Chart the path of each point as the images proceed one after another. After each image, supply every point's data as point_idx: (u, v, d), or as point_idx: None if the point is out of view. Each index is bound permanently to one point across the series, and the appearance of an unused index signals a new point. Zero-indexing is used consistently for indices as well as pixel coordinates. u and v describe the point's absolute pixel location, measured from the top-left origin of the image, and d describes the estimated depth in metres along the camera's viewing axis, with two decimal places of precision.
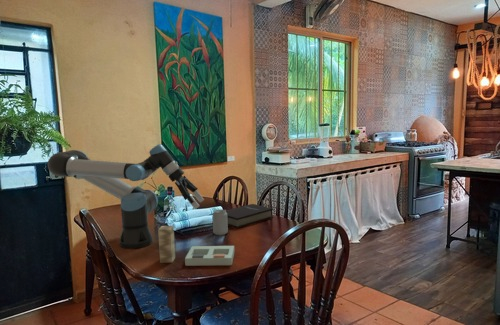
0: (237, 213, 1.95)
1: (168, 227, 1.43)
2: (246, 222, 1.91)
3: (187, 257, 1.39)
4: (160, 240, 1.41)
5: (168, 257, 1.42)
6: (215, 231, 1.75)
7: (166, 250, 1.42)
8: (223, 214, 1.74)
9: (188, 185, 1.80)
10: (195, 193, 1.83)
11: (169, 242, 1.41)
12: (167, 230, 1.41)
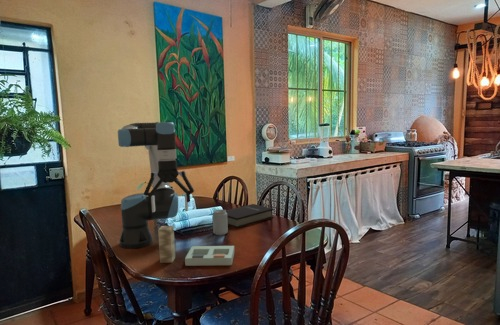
0: (237, 213, 1.95)
1: (168, 227, 1.43)
2: (246, 222, 1.91)
3: (187, 257, 1.39)
4: (160, 240, 1.41)
5: (168, 257, 1.42)
6: (215, 231, 1.75)
7: (166, 250, 1.42)
8: (223, 214, 1.74)
9: None
10: (185, 197, 1.44)
11: (169, 242, 1.41)
12: (167, 230, 1.41)
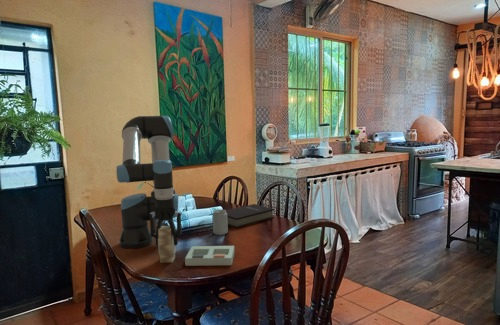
0: (237, 213, 1.95)
1: (168, 227, 1.43)
2: (246, 222, 1.91)
3: (187, 257, 1.39)
4: (160, 240, 1.41)
5: (168, 257, 1.42)
6: (215, 231, 1.75)
7: (166, 250, 1.42)
8: (223, 214, 1.74)
9: None
10: None
11: (169, 242, 1.41)
12: (167, 230, 1.41)
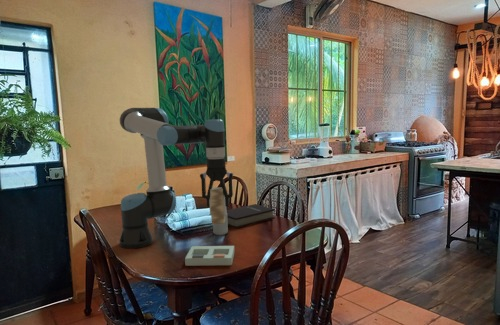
0: (237, 213, 1.95)
1: (219, 188, 1.41)
2: (245, 222, 1.91)
3: (187, 257, 1.39)
4: (212, 201, 1.39)
5: (220, 218, 1.40)
6: (215, 231, 1.75)
7: (218, 211, 1.40)
8: None
9: (221, 184, 1.40)
10: None
11: (221, 203, 1.39)
12: (219, 190, 1.39)
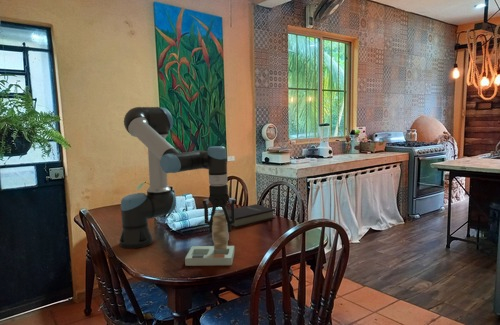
0: (237, 213, 1.95)
1: (222, 214, 1.43)
2: (245, 222, 1.91)
3: (187, 257, 1.39)
4: (214, 227, 1.41)
5: (222, 244, 1.41)
6: None
7: (220, 237, 1.41)
8: None
9: (223, 210, 1.42)
10: None
11: (223, 229, 1.41)
12: (221, 216, 1.40)
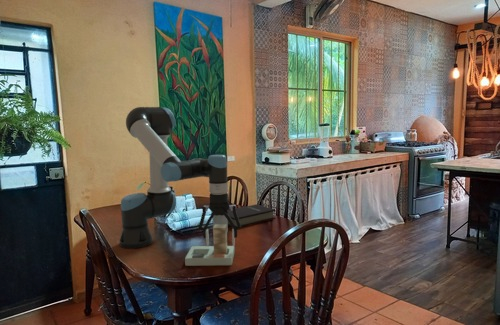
0: (237, 213, 1.95)
1: (222, 226, 1.43)
2: (245, 222, 1.90)
3: (187, 257, 1.39)
4: (215, 238, 1.41)
5: None
6: None
7: (220, 249, 1.42)
8: None
9: None
10: (232, 232, 1.43)
11: (224, 241, 1.41)
12: (222, 228, 1.41)
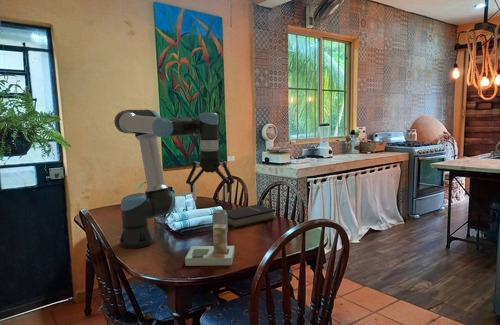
0: (237, 213, 1.95)
1: (222, 226, 1.43)
2: (245, 222, 1.90)
3: (187, 257, 1.39)
4: (215, 239, 1.41)
5: None
6: None
7: (220, 249, 1.42)
8: (223, 214, 1.74)
9: None
10: None
11: (224, 241, 1.41)
12: (222, 228, 1.41)
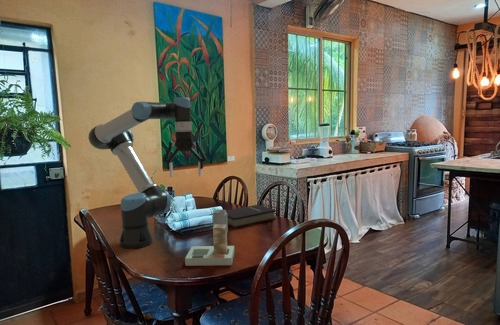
0: (237, 213, 1.95)
1: (222, 226, 1.43)
2: (245, 223, 1.90)
3: (187, 257, 1.39)
4: (215, 239, 1.41)
5: None
6: None
7: (220, 249, 1.42)
8: (223, 214, 1.74)
9: None
10: None
11: (224, 241, 1.41)
12: (222, 228, 1.41)
